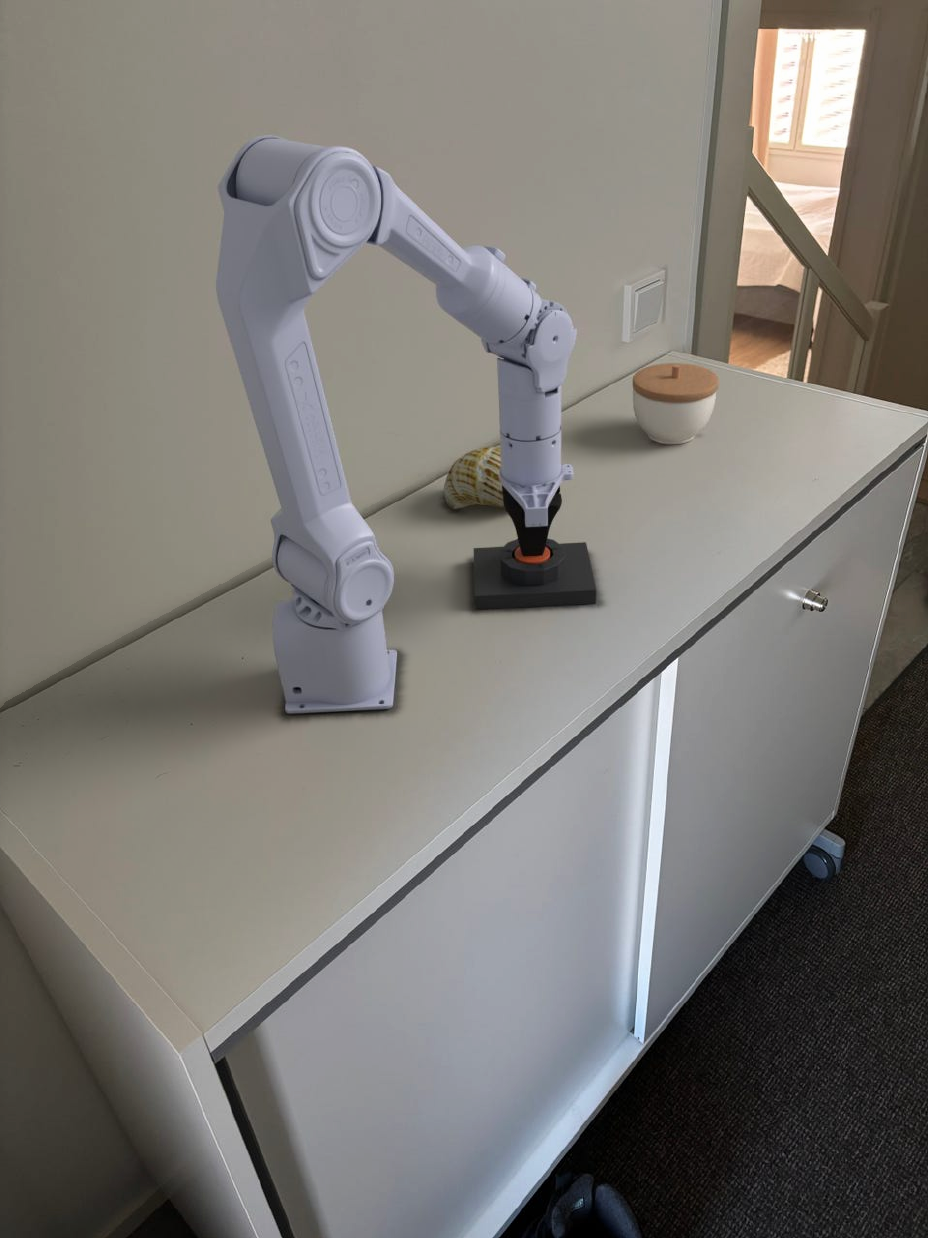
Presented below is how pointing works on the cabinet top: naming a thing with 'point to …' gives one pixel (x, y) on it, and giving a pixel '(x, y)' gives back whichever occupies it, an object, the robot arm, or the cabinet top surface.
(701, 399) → the trinket box
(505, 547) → the switch plate
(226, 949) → the cabinet top surface
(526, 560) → the switch button
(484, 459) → the seashell
